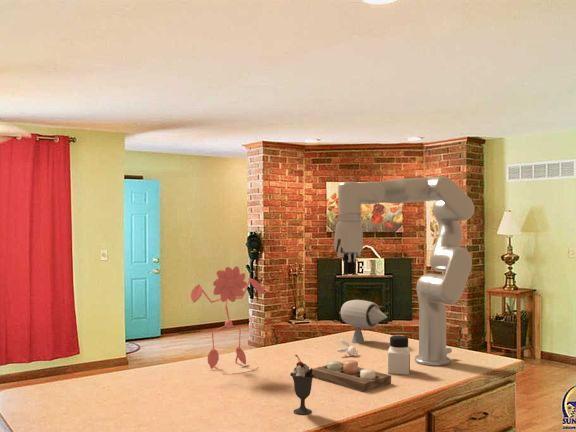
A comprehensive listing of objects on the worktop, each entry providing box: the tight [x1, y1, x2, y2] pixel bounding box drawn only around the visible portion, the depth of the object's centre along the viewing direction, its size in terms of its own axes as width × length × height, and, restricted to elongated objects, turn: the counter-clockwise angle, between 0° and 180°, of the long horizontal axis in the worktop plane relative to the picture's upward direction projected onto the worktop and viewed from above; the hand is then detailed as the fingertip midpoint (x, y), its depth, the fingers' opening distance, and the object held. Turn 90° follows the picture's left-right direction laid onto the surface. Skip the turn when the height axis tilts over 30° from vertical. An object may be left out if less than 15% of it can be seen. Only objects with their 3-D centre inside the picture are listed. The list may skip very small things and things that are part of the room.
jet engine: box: [340, 299, 389, 344], centre depth 238 cm, size 15×20×18 cm
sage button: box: [326, 360, 343, 371], centre depth 188 cm, size 5×5×4 cm
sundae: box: [290, 354, 315, 416], centre depth 153 cm, size 7×7×15 cm
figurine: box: [190, 265, 266, 375], centre depth 196 cm, size 15×26×35 cm, turn 115°
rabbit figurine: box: [336, 338, 359, 357], centre depth 216 cm, size 6×4×8 cm
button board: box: [312, 362, 392, 393], centre depth 183 cm, size 13×22×3 cm, turn 43°
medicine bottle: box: [387, 334, 411, 376], centre depth 194 cm, size 7×7×12 cm
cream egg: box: [360, 368, 376, 380], centre depth 178 cm, size 5×5×4 cm
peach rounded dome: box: [342, 359, 359, 375], centre depth 183 cm, size 5×5×4 cm
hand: (349, 273), depth 192 cm, fingers closed
